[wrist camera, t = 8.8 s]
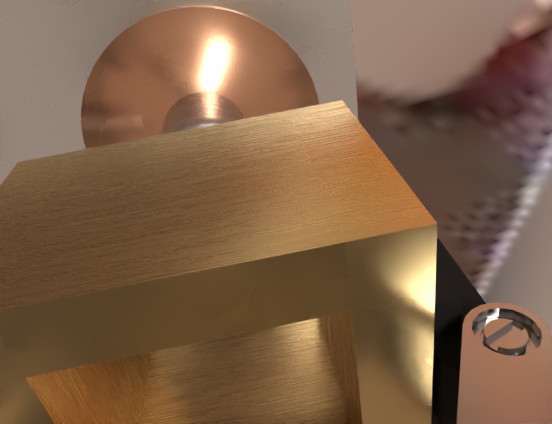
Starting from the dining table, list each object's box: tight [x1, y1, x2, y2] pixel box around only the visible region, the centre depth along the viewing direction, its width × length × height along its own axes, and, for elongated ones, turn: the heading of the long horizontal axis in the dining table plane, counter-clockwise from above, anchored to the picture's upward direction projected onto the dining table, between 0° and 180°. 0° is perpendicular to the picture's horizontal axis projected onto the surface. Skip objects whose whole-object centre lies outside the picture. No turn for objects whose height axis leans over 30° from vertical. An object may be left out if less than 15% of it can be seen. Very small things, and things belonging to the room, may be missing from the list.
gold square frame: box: [0, 100, 437, 424], centre depth 10 cm, size 7×7×5 cm
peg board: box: [0, 0, 358, 185], centre depth 17 cm, size 14×24×8 cm, turn 99°
